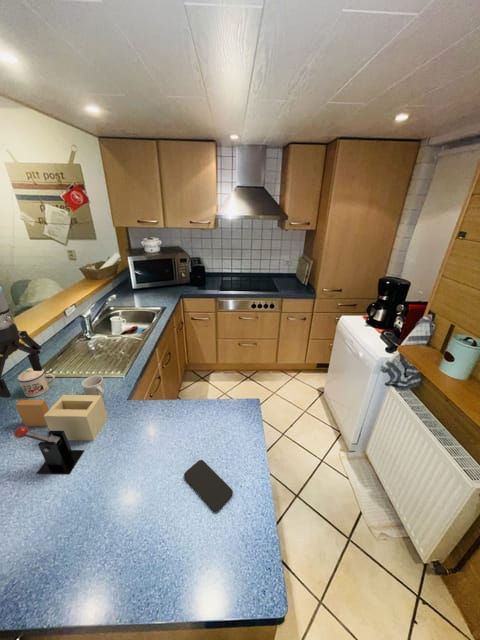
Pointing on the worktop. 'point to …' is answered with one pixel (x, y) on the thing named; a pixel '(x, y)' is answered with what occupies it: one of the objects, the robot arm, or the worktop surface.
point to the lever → (35, 435)
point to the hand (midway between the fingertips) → (23, 382)
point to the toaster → (77, 416)
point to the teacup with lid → (34, 382)
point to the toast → (32, 412)
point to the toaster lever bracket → (58, 455)
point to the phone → (208, 485)
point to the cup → (94, 385)
